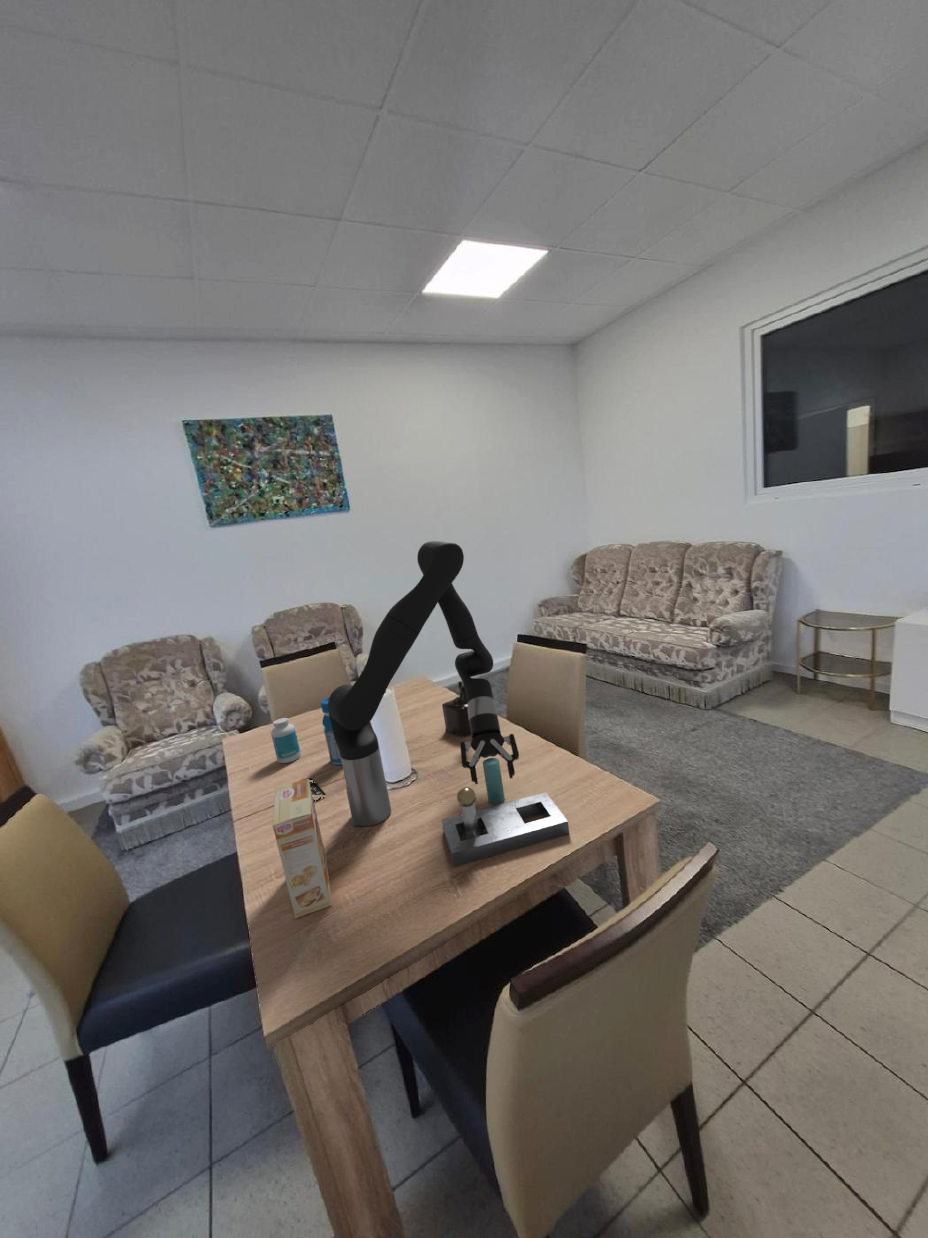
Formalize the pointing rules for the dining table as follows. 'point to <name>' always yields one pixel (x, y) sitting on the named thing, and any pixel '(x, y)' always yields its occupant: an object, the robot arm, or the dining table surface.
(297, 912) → the coffeecake box
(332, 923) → the dining table surface
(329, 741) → the beverage bottle
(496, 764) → the teal peg
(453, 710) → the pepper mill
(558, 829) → the hole plate
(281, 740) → the pill bottle
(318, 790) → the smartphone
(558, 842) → the dining table surface
